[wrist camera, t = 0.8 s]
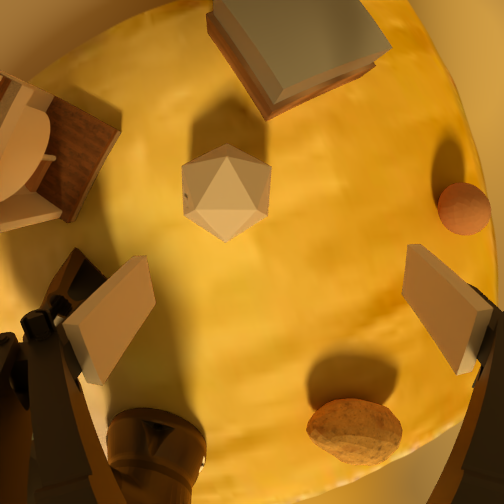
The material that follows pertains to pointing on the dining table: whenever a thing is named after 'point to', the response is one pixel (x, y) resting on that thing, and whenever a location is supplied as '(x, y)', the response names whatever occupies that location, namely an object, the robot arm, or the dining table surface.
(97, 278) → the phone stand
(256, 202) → the die
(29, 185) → the display case
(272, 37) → the block
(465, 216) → the egg
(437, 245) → the dining table surface
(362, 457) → the potato
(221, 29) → the block
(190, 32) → the dining table surface
